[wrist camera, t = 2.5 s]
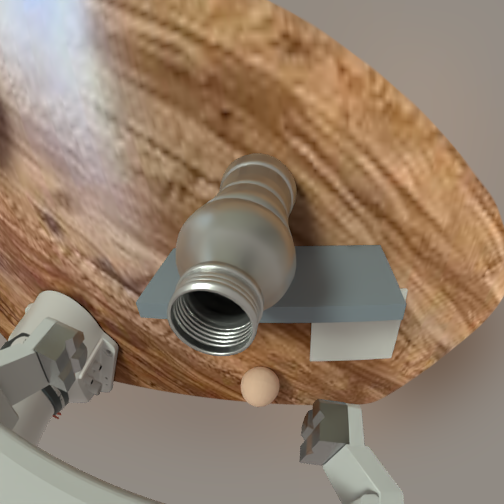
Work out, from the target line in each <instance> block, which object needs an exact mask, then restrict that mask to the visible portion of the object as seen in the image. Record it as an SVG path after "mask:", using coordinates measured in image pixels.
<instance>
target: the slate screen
mask: <svg viewBox="0 0 504 504" xmlns="http://www.w3.org/2000/svg"><path fill="white" fill-rule="evenodd" d="M295 253H296V270H295V275H294V278H293V280H292V282H291V284H290V286H289V288H288V289H287V291H286V293H285V294H284V295H283V297H282V298H281V299H280V300H279V301H278V302H277V303H276V304H274V305H273V306H272V307H270V308H268V309H266V310H264V311H263V314H262V318H261V320H260V322H259V323H333V322H366V321H388V320H403V316H404V312H405V307H406V302H405V299H404V297H403V295H402V292H401V290H400V288H399V285H398V283H397V281H396V279H395V276H394V274H393V272H392V270H391V267H390V265H389V263H388V261H387V259H386V256H385V254H384V252H383V250H382V248H381V246H380V245H354V246H295ZM179 279H180V275H179V273H178V270H177V265H176V248H174V249H173V250H172V251H171V253H170V254H169V256H168V257H167V258H166V260H165V261H164V263H163V264H162V265H161V267H160V268H159V270H158V271H157V273H156V274H155V275H154V277H153V278H152V280H151V281H150V283H149V284H148V285H147V287H146V288H145V290H144V291H143V293H142V294H141V296H140V297H139V299H138V300H137V302H136V305H137V307H138V310H139V313H140V316H141V317H145V318H159V319H167V309H168V305H169V301H170V299H171V297H172V295H173V294H174V292H175V289H176V285H177V283H178V281H179Z"/></svg>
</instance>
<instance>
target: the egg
mask: <svg viewBox="0 0 504 504" xmlns="http://www.w3.org/2000/svg"><path fill="white" fill-rule="evenodd" d="M241 392H242V395H243V397H244V398H245V400H246V401H247V402H248V403H249V404H251V405H252V406H256V407H263V406H266V405H268V404H270V403H271V402H272V401H273V400H274V399H275V398H276V396H277V394H278V392H279V379H278V377H277V375H276V374H275V373H274V372H273V371H272V370H271V369H269V368H266V367H255V368H252V369H250V370H249V371H247V372H246V373H245V375H244V376H243V378H242V381H241Z"/></svg>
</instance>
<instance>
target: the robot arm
mask: <svg viewBox="0 0 504 504" xmlns="http://www.w3.org/2000/svg"><path fill="white" fill-rule="evenodd" d="M25 312H26V314H25V315H24V316H23V318H22V319H21V321H20V322H19V323H18V325H17V326H16V328H15V329H14V330H13V332H12V333H11V335H10V336H9V339H8V341H7V342H6V343H5V344H4V345H3V346H2V348H1V349H0V504H165V503H161V502H158V501H155V500H152V499H149V498H146V497H143V496H141V495H137V494H135V493H132V492H130V491H127V490H125V489H122V488H120V487H117V486H114V485H112V484H110V483H107V482H105V481H103V480H101V479H98V478H96V477H94V476H92V475H90V474H87V473H85V472H83V471H81V470H79V469H77V468H75V467H73V466H71V465H69V464H67V463H65V462H64V461H62V460H60V459H58V458H56V457H54V456H53V455H51V454H49V453H47V452H46V451H44V450H42V449H41V448H39V447H37V446H38V443H39V441H40V439H41V437H42V435H43V432H44V431H45V429H46V427H47V424H48V423H49V421H50V419H51V418H52V416H53V417H55V418H57V419H59V418H58V417H57V416H55V415H56V414H58V415H61V413H59V411H60V410H62V409H63V408H64V407H65V406H66V405H67V404H68V403H87V402H89V401H90V400H91V398H92V397H93V395H94V394H95V395H99V394H100V392H110V391H111V390H112V387H113V381H114V373H115V366H116V360H117V353H118V345H117V343H116V342H115V341H114V340H113V339H112V338H111V337H109V336H108V335H107V334H106V333H104V332H103V330H102V329H101V328H100V327H99V325H98V324H97V322H96V321H95V320H94V319H93V317H92V316H91V315H90V314H89V313H88V312H87V311H86V310H85V309H84V308H83V307H82V306H81V305H79V304H78V303H77V302H76V301H74V300H73V299H71V298H70V297H68V296H66V295H64V294H62V293H59V292H55V291H44V292H42V293H40V294H39V295H38V297H37V298H36V300H35V302H34V303H31V304H29V305H28V306H27V307H26V309H25ZM301 435H302V437H303V438H304V440H305V441H304V443H303V444H302V445H301V448H300V462H301V463H307V464H315V465H323V469H324V471H325V472H326V475H327V476H328V478H329V480H330V482H331V484H332V486H333V488H334V490H335V492H336V493H337V495H338V497H339V499H340V501H341V503H342V504H404V500H403V492H402V490H401V489H400V488H399V486H398V485H397V484H396V482H395V481H394V480H393V478H392V477H391V476H390V474H389V473H388V472H387V470H386V469H385V468H384V466H383V465H382V464H381V462H380V461H379V460H378V458H377V457H376V456H375V454H374V453H373V452H372V450H371V449H370V448H369V447H368V446H365V443H364V432H363V420H362V410H361V407H360V405H358V404H348V403H344V402H337V401H329V400H322V399H317V400H316V401H315V402H314V403H313V409H312V410H310V411H308V413H307V414H306V416H305V418H304V421H303V425H302V432H301Z"/></svg>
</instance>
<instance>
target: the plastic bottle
mask: <svg viewBox="0 0 504 504" xmlns="http://www.w3.org/2000/svg"><path fill="white" fill-rule="evenodd" d="M296 196H297V189H296V184H295V180H294V178H293V176H292V174H291V172H290V171H289V170H288V168H287V167H286V166H285V165H284V164H283V163H282V162H281V161H280V160H278V159H276V158H275V157H272V156H270V155H266V154H261V153H260V154H250V155H245V156H242V157H240V158H238V159H236V160H235V161H234V162H232V163H231V164H230V165H229V166H228V168H227V169H226V171H225V173H224V174H223V178H222V181H221V185H220V191H219V193H218V194H217V195H216V196H215V197H214V198H213V199H212V200H211V201H209V202H208V203H206V204H205V205H203V206H202V207H200V208H199V209H198V210H196V211H195V212H194V213H193V214H192V215H191V216H190V217H189V218H188V220H187V221H186V222H185V223H184V224H183V226H182V228H181V230H180V232H179V235H178V239H177V244H176V265H177V270H178V273H179V275H180V279H179V281H178V283H177V285H176V289H175V292H174V294H173V295H172V297H171V299H170V301H169V305H168V309H167V319H168V322H169V325H170V327H171V329H172V330H173V332H174V333H175V334H176V336H177V337H178V338H179V339H180V340H181V341H182V342H184V343H185V344H187V345H188V346H189V347H191V348H193V349H195V350H197V351H199V352H202V353H205V354H209V355H214V356H229V355H234V354H237V353H240V352H242V351H244V350H245V349H246V348H248V347H249V346H250V344H251V343H252V342H253V340H254V338H255V336H256V333H257V327H258V324H259V322H260V320H261V318H262V314H263V311H264V310H266V309H268V308H270V307H272V306H273V305H274V304H276V303H277V302H278V301H279V300H280V299H281V298H282V297H283V295H284V294H285V293H286V291H287V289H288V288H289V286H290V284H291V282H292V280H293V278H294V275H295V270H296V253H295V246H294V242H293V238H292V235H291V232H290V229H289V224H288V217H289V214H290V213H291V211H292V209H293V206H294V204H295V201H296Z"/></svg>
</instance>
